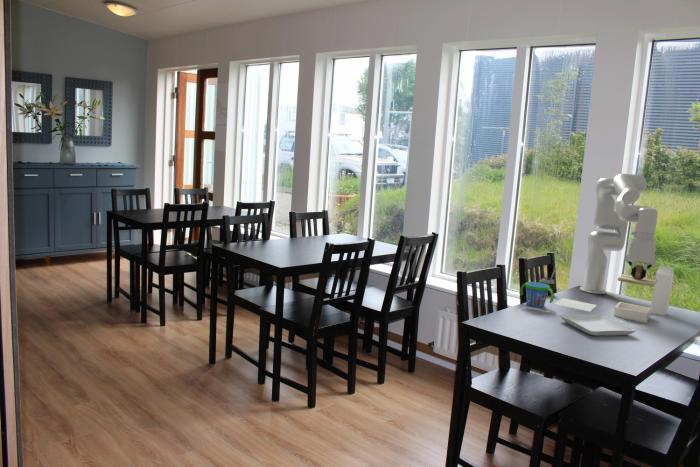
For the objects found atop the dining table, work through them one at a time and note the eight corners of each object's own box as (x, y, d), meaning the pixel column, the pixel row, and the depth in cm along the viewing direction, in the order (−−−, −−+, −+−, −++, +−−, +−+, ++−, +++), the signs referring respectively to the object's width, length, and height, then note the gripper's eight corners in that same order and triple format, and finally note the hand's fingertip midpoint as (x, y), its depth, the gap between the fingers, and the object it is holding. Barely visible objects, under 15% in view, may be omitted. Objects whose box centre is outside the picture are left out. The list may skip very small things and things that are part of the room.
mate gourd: (537, 295, 289) (541, 265, 286) (539, 291, 296) (543, 262, 294) (553, 297, 286) (557, 267, 284) (555, 294, 293) (559, 265, 291)
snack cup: (513, 303, 269) (516, 281, 267) (526, 300, 276) (529, 279, 274) (543, 312, 257) (546, 289, 256) (556, 309, 264) (559, 287, 262)
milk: (663, 316, 268) (671, 268, 264) (649, 312, 272) (657, 266, 268) (667, 314, 272) (675, 267, 269) (653, 310, 276) (661, 264, 273)
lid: (622, 275, 268) (624, 260, 267) (656, 281, 260) (659, 266, 259) (617, 280, 256) (619, 264, 255) (653, 286, 249) (655, 270, 248)
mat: (561, 299, 284) (561, 297, 284) (596, 306, 276) (596, 305, 276) (553, 305, 271) (553, 304, 271) (590, 312, 262) (590, 311, 262)
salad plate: (590, 339, 225) (591, 330, 224) (557, 321, 245) (558, 313, 245) (636, 338, 231) (637, 330, 230) (600, 321, 251) (601, 313, 250)
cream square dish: (618, 311, 270) (619, 301, 269) (649, 317, 263) (651, 307, 262) (613, 317, 259) (614, 307, 258) (646, 323, 252) (647, 313, 251)
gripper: (622, 234, 256) (616, 275, 259) (664, 240, 248) (657, 282, 251) (625, 232, 263) (619, 273, 265) (666, 238, 254) (659, 280, 257)
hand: (637, 277), depth 258 cm, fingers closed on lid, 3 cm apart
